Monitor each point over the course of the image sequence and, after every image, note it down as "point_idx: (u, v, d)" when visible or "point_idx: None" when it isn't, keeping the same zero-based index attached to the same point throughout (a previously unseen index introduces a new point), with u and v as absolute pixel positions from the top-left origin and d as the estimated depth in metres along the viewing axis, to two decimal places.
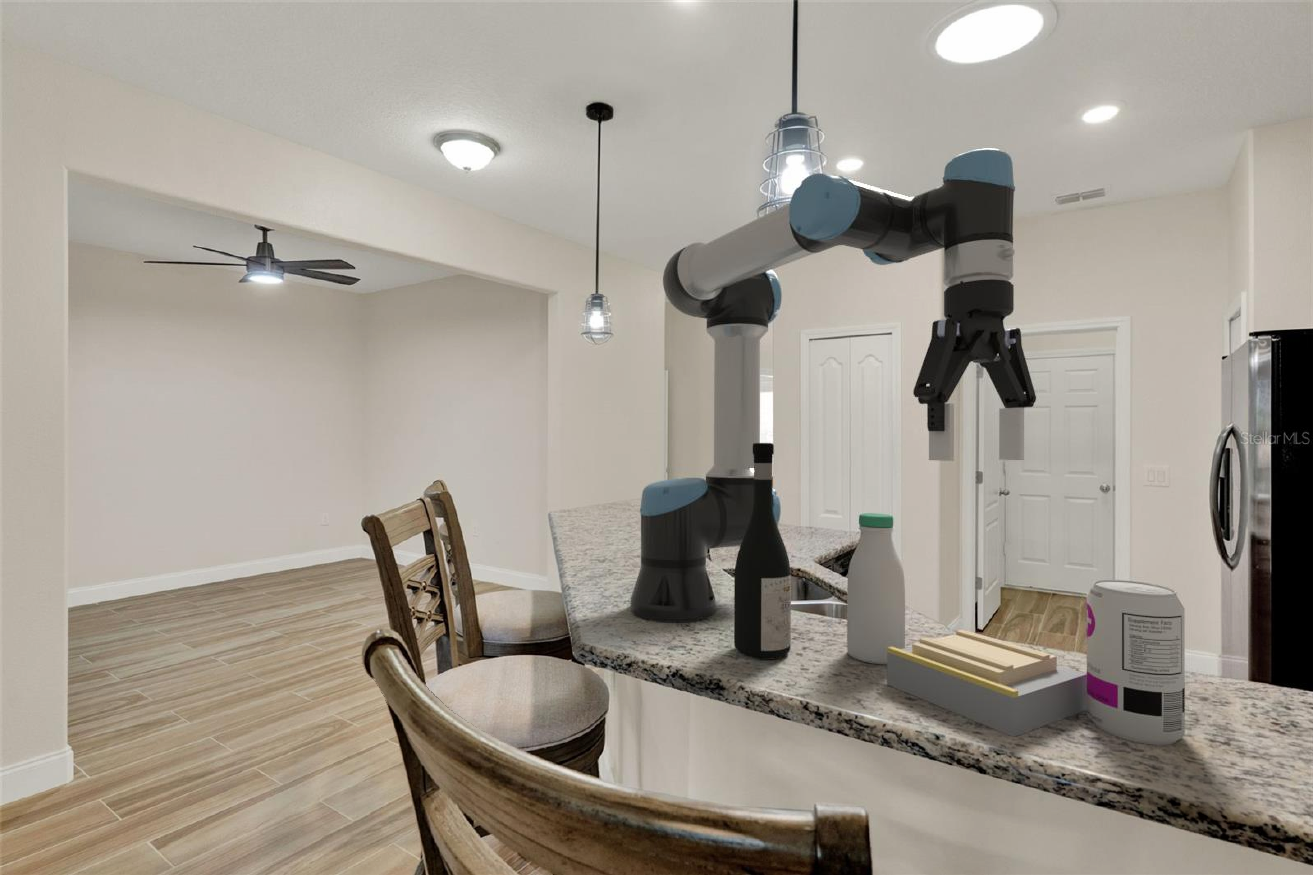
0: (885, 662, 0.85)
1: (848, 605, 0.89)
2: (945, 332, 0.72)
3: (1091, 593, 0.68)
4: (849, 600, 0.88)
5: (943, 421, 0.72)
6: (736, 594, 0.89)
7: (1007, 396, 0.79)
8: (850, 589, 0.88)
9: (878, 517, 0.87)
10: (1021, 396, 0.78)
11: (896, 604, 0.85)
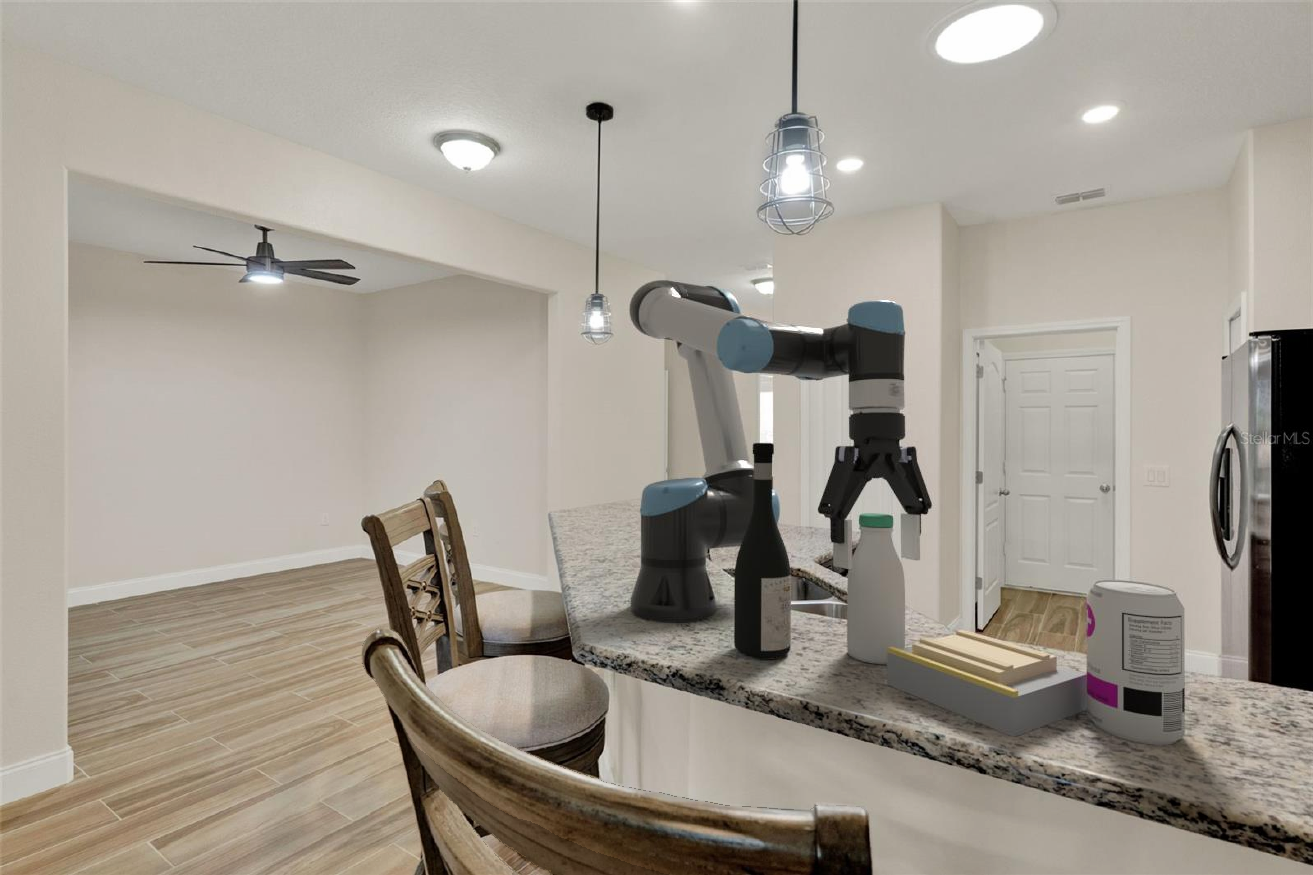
0: (885, 662, 0.85)
1: (848, 605, 0.89)
2: (844, 458, 0.85)
3: (1091, 593, 0.68)
4: (849, 600, 0.88)
5: (843, 535, 0.84)
6: (736, 594, 0.89)
7: (906, 504, 0.92)
8: (850, 589, 0.88)
9: (878, 517, 0.87)
10: (917, 505, 0.91)
11: (896, 604, 0.85)
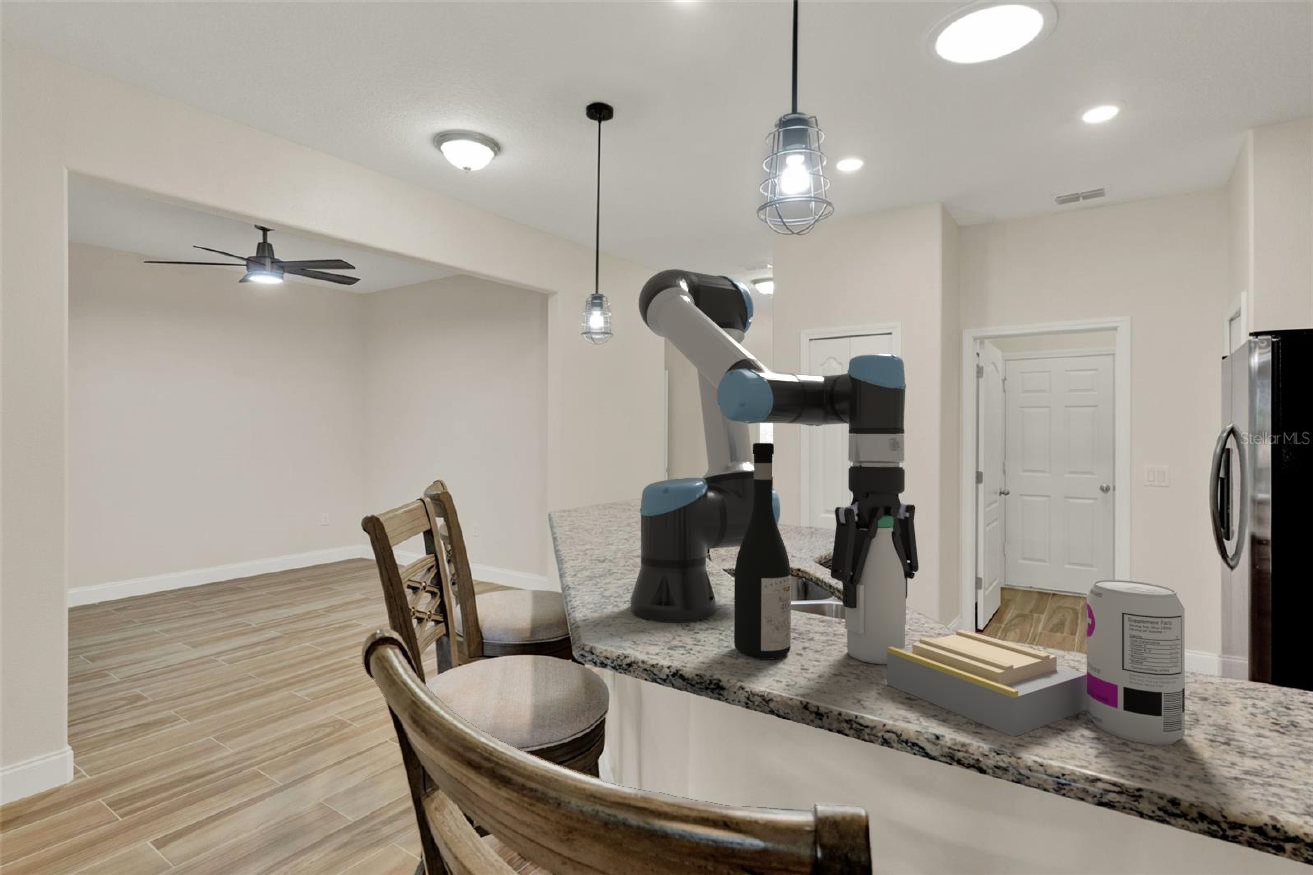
0: (885, 662, 0.85)
1: None
2: (845, 522, 0.85)
3: (1091, 593, 0.68)
4: None
5: (855, 600, 0.86)
6: (736, 594, 0.89)
7: None
8: None
9: None
10: (905, 567, 0.90)
11: (896, 604, 0.85)
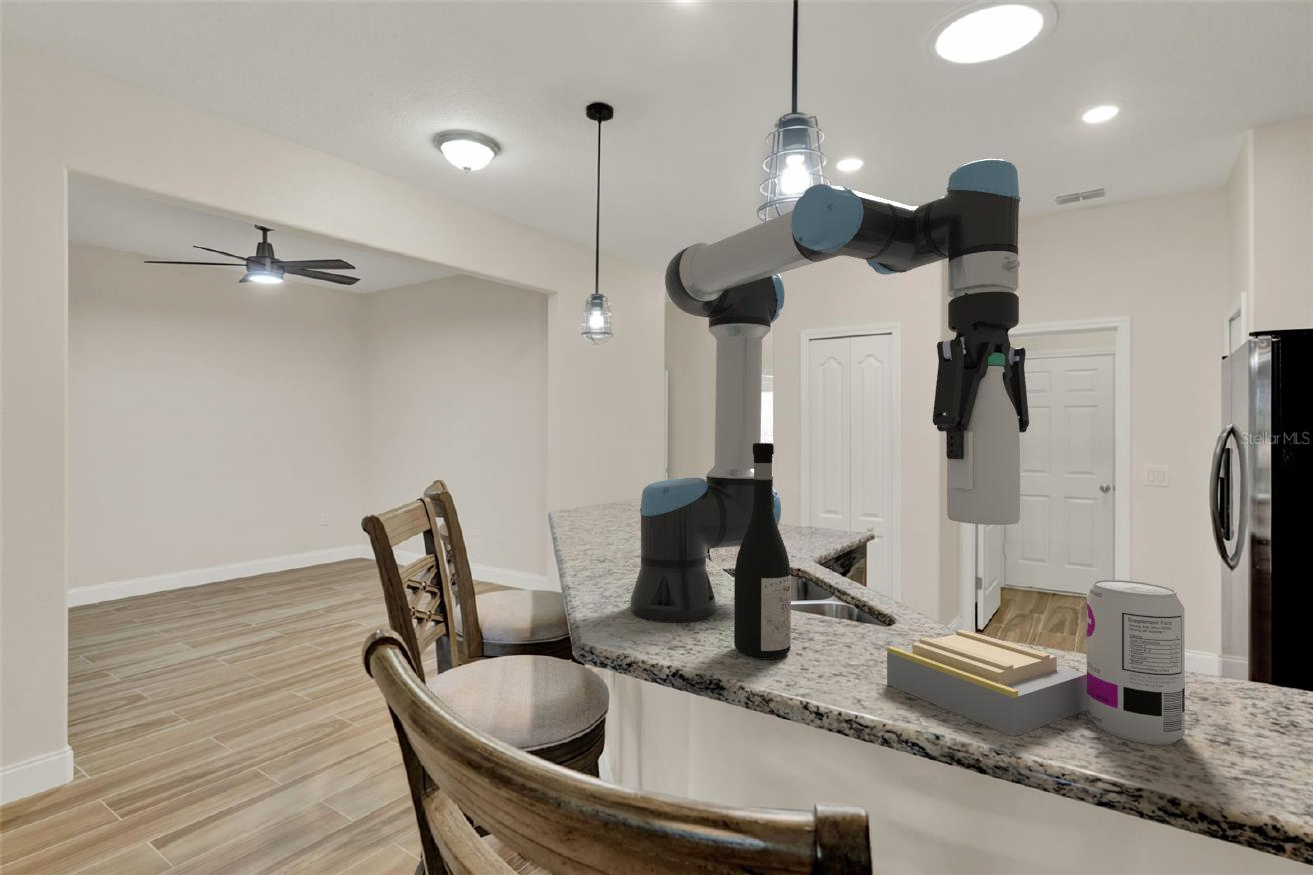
0: (1000, 522, 0.71)
1: None
2: (952, 355, 0.71)
3: (1091, 593, 0.68)
4: None
5: (962, 449, 0.72)
6: (736, 594, 0.89)
7: None
8: None
9: None
10: None
11: (1012, 454, 0.71)
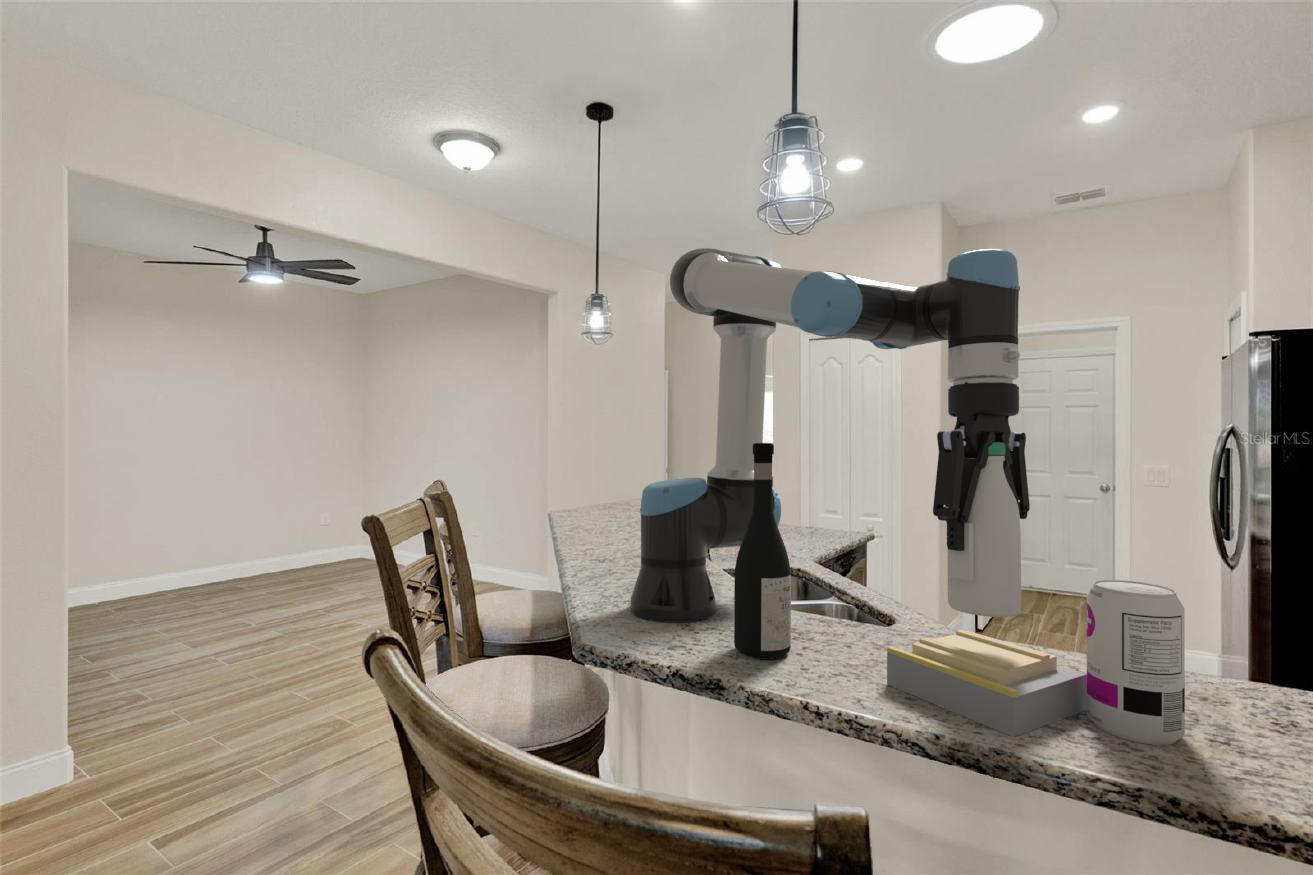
0: (1001, 614, 0.71)
1: None
2: (952, 447, 0.71)
3: (1091, 593, 0.68)
4: None
5: (963, 541, 0.72)
6: (736, 594, 0.89)
7: None
8: None
9: None
10: None
11: (1013, 546, 0.71)
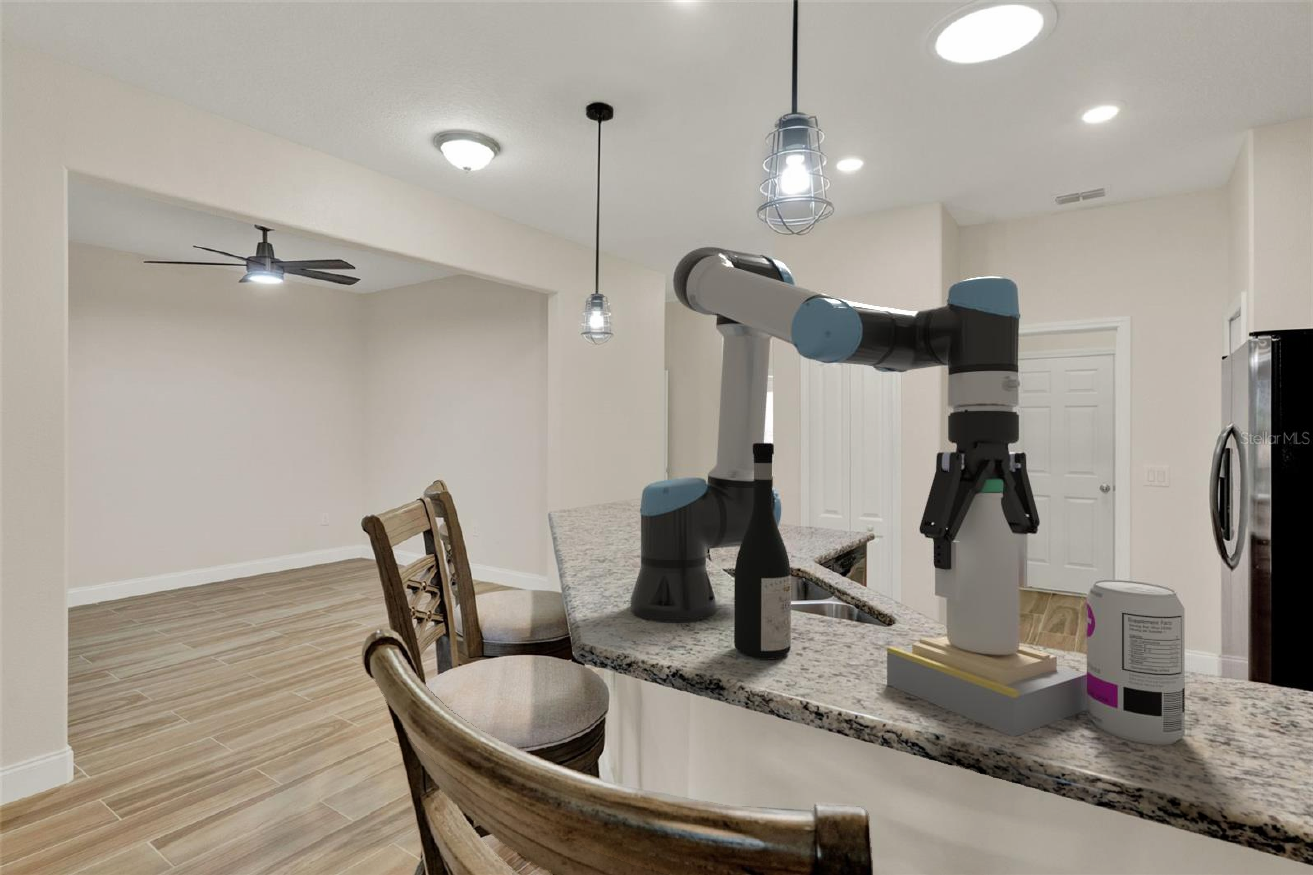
0: (999, 652, 0.71)
1: None
2: (950, 467, 0.71)
3: (1091, 593, 0.68)
4: None
5: (949, 559, 0.71)
6: (736, 594, 0.89)
7: (1010, 520, 0.78)
8: None
9: (987, 480, 0.73)
10: (1025, 522, 0.77)
11: (1011, 583, 0.71)
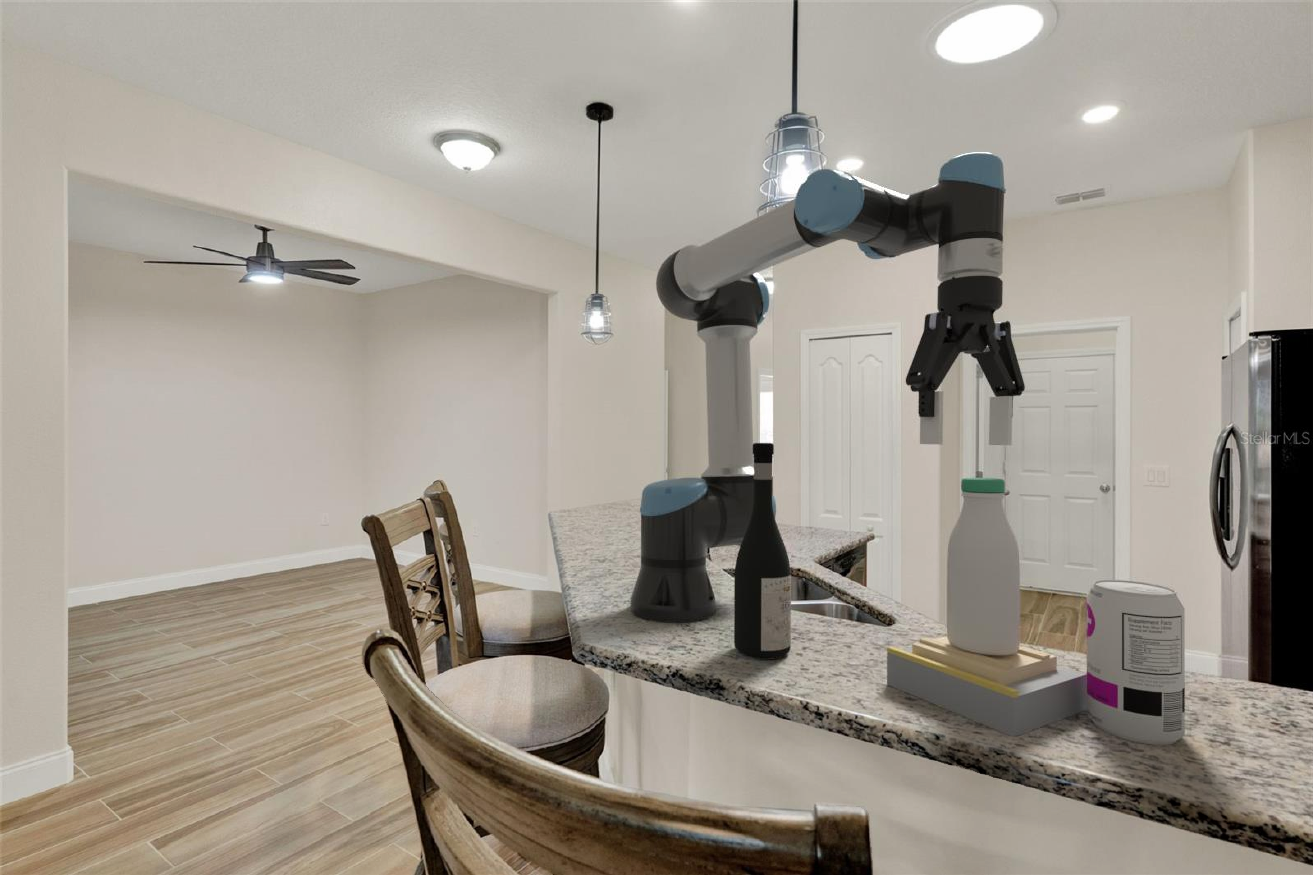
0: (999, 653, 0.71)
1: (950, 585, 0.75)
2: (936, 325, 0.77)
3: (1091, 593, 0.68)
4: (951, 580, 0.74)
5: (933, 408, 0.77)
6: (736, 594, 0.89)
7: (997, 385, 0.84)
8: (953, 566, 0.74)
9: (988, 480, 0.73)
10: (1010, 385, 0.83)
11: (1012, 584, 0.71)
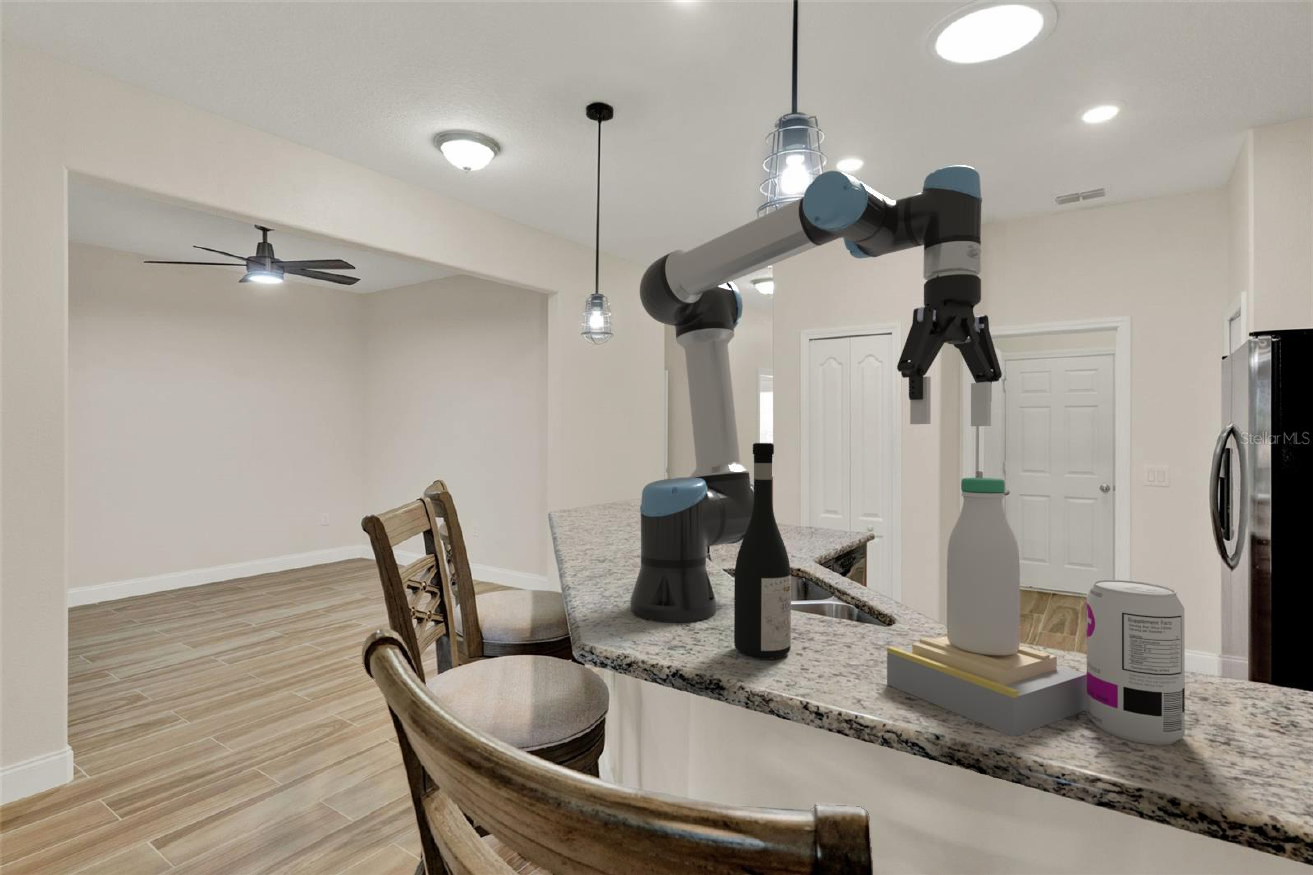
0: (999, 653, 0.71)
1: (950, 585, 0.75)
2: (923, 317, 0.87)
3: (1091, 593, 0.68)
4: (951, 580, 0.74)
5: (921, 391, 0.87)
6: (736, 594, 0.89)
7: (977, 372, 0.94)
8: (953, 566, 0.74)
9: (988, 480, 0.73)
10: (988, 372, 0.93)
11: (1012, 584, 0.71)
